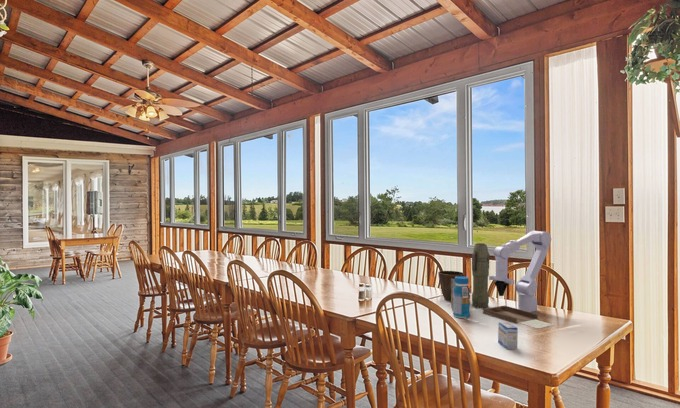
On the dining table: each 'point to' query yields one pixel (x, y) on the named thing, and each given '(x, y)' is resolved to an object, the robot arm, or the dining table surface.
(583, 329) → the dining table surface
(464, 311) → the beverage bottle
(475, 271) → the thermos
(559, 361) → the dining table surface
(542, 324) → the cover plate
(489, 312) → the case
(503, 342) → the medicine box
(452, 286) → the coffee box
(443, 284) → the plant pot
